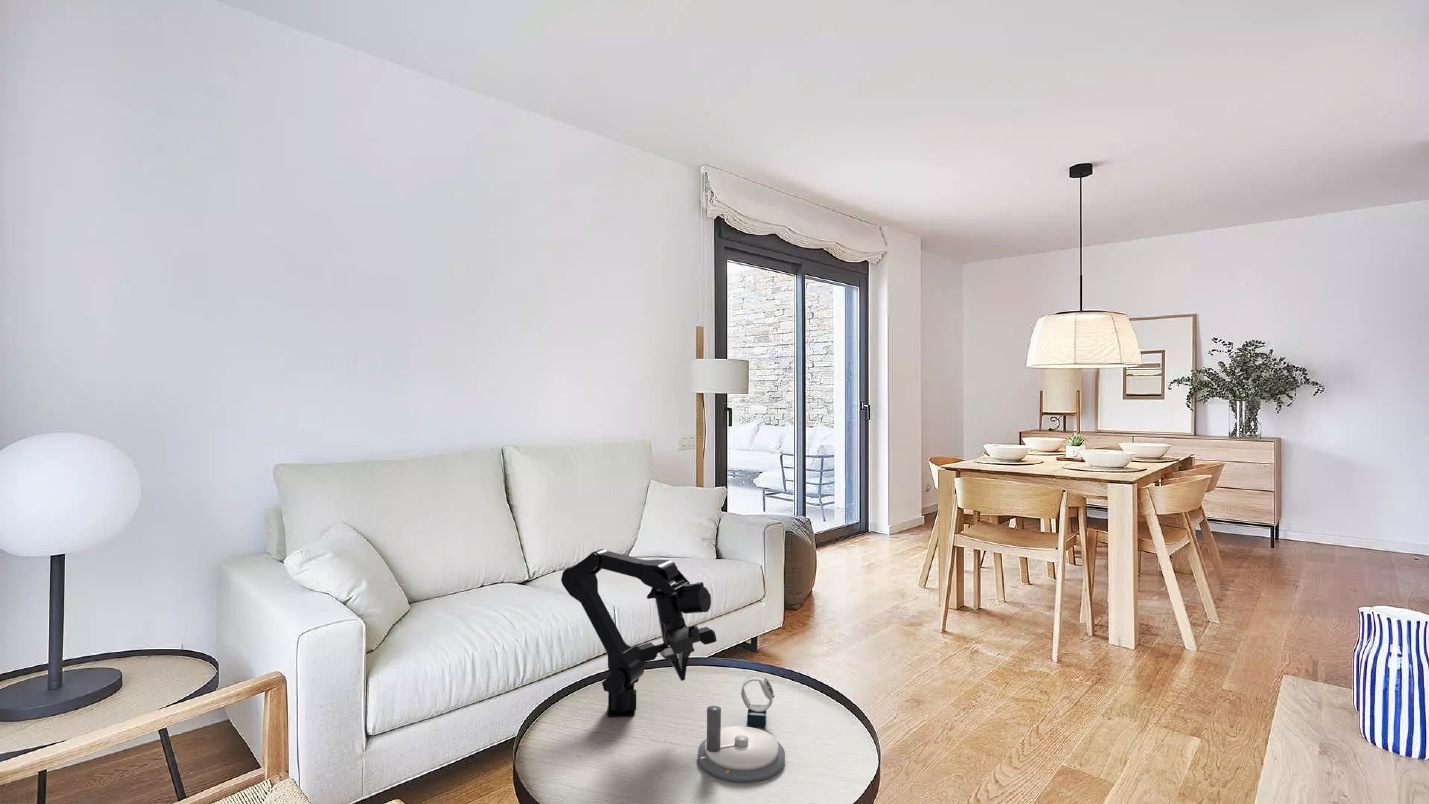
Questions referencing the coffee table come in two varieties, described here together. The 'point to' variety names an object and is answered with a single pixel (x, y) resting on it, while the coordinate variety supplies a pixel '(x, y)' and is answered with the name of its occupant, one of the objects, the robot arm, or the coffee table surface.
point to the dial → (738, 745)
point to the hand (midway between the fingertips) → (682, 680)
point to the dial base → (741, 775)
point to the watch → (757, 712)
